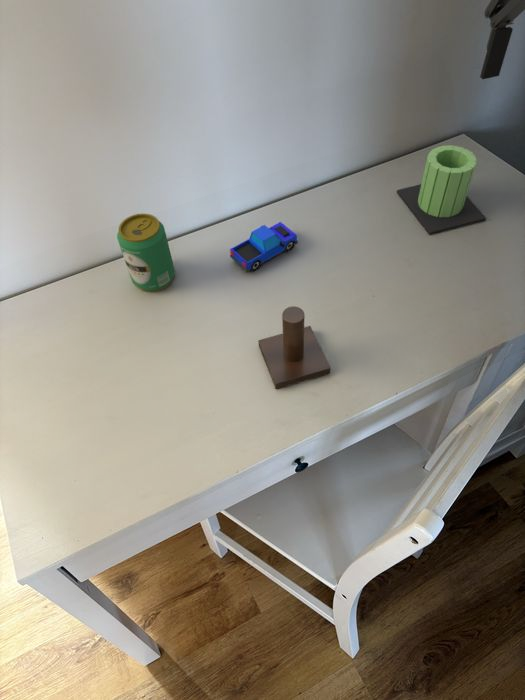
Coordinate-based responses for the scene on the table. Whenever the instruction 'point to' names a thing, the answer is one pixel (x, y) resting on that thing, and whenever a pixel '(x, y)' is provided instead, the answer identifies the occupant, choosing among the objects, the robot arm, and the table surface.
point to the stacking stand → (293, 352)
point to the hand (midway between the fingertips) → (515, 98)
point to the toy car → (263, 246)
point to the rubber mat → (438, 224)
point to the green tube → (446, 180)
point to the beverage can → (146, 252)
